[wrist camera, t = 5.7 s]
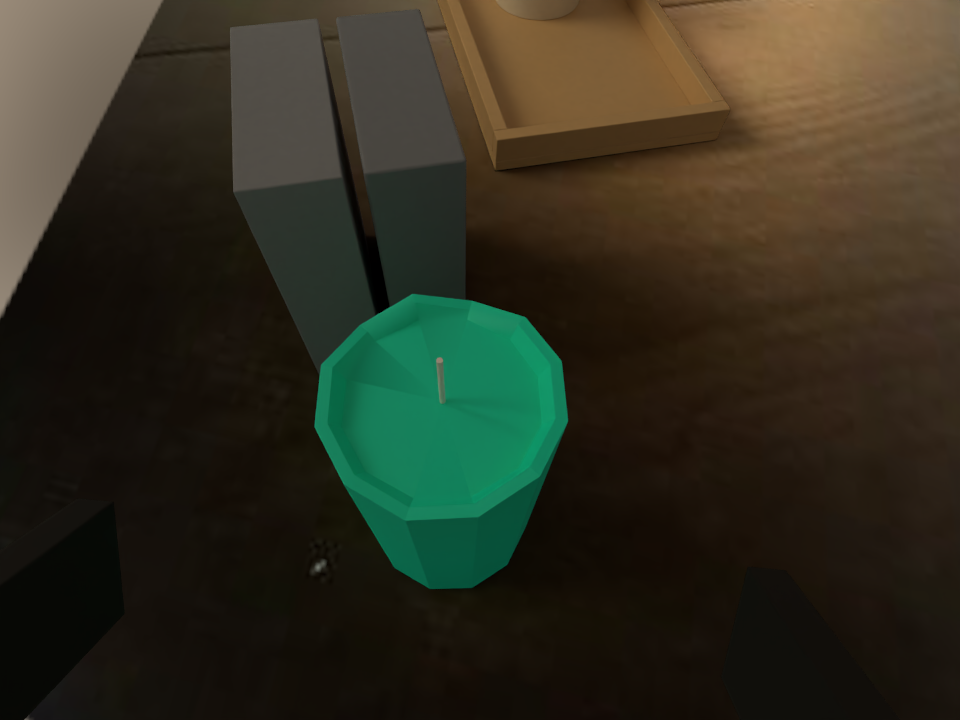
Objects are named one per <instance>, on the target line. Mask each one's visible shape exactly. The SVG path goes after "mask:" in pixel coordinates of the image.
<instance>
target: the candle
mask: <svg viewBox="0 0 960 720" xmlns="http://www.w3.org/2000/svg"><path fill="white" fill-rule="evenodd" d="M567 423H568V415H567V406H566V396H565V387H564V378H563V368H562V361H561V360H560V358H559V357H558V356H557V355H556V354H555V352H554V351H553V350H552V349H551V347H550V346H549V345H548V344H547V343H546V341H545V340H544V339H543V338H542V336H541V335H540V334H539V333H538V332H537V330H536V329H535V328H534V327H533V326H532V324H531V323H530V322H529V321H528V319H527V318H526V317H523V316H520V315H517V314H514V313H510V312H507V311H504V310H501V309H497V308H494V307H491V306H488V305H484V304H481V303H478V302H475V301H470V300H462V299H453V298H445V297H436V296H427V295H419V294H411V295H410V296H408V297H406V298H405V299H403V300H401V301H400V302H398V303H396V304H394V305H393V306H391V307H389V308H388V309H386V310H384V311H383V312H381V313H379V314H377V315H376V316H374V317H372V318H371V319H369V320H367V321H366V322H364V323H362V324H361V325H359V326H358V327H357V328H356V329H355V330H354V331H353V332H352V334H351V335H350V336H349V337H348V338H347V339H346V340H345V341H344V342H343V343H342V344H341V345H340V346H339V347H338V348H337V349H336V350H335V351H334V352H333V353H332V354H331V355H330V356H329V357H328V358H327V359H326V360H325V361H324V362H323V363H322V364H321V369H320V378H319V388H318V397H317V407H316V416H315V426H314V427H315V429H316V431H317V433H318V435H319V437H320V439H321V441H322V443H323V445H324V447H325V449H326V451H327V453H328V455H329V456H330V458H331V460H332V462H333V464H334V466H335V468H336V470H337V472H338V474H339V476H340V478H341V480H342V482H343V484H344V486H345V487H346V489H347V491H348V492H349V494H350V496H351V497H352V499H353V500H354V502H355V504H356V505H357V507H358V509H359V510H360V512H361V514H362V515H363V517H364V519H365V520H366V522H367V523H368V525H369V527H370V528H371V530H372V532H373V533H374V535H375V537H376V538H377V540H378V542H379V543H380V545H381V546H382V548H383V550H384V551H385V553H386V555H387V556H388V558H389V560H390V561H391V563H392V565H393V566H394V568H395V569H397V570H399V571H401V572H402V573H404V574H406V575H407V576H409V577H411V578H412V579H414V580H416V581H417V582H419V583H421V584H422V585H424V586H426V587H427V588H429V589H451V588H473V587H474V586H476V585H477V584H479V583H480V582H482V581H483V580H485V579H487V578H488V577H490V576H491V575H493V574H494V573H496V572H497V571H499V570H500V569H502V568H503V567H505V566H506V565H507V564H508V562H509V560H510V558H511V556H512V554H513V552H514V550H515V548H516V546H517V544H518V542H519V540H520V538H521V536H522V534H523V532H524V530H525V528H526V525H527V523H528V520H529V518H530V515H531V513H532V510H533V508H534V505H535V503H536V500H537V498H538V495H539V493H540V490H541V488H542V485H543V483H544V480H545V478H546V475H547V473H548V470H549V468H550V465H551V463H552V460H553V458H554V455H555V453H556V450H557V448H558V445H559V443H560V440H561V438H562V435H563V433H564V430H565V428H566V425H567Z"/></svg>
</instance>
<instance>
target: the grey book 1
mask: <svg viewBox="0 0 960 720" xmlns="http://www.w3.org/2000/svg"><path fill="white" fill-rule="evenodd" d="M230 47H231V98H232V149H233V192H234V195H235V197H236V199H237V201H238V203H239V205H240V207H241V209H242V212H243V214H244V216H245V218H246V220H247V222H248V224H249V226H250V229H251V231H252V233H253V235H254V237H255V239H256V241H257V244H258V246H259V248H260V250H261V252H262V254H263V256H264V258H265V261H266V263H267V265H268V267H269V269H270V271H271V273H272V275H273V278H274V280H275V282H276V284H277V286H278V288H279V290H280V292H281V295H282V297H283V299H284V301H285V303H286V305H287V307H288V309H289V312H290V314H291V316H292V318H293V320H294V322H295V324H296V326H297V329H298V331H299V333H300V335H301V337H302V339H303V341H304V343H305V346H306V348H307V350H308V352H309V354H310V356H311V358H312V360H313V363H314V365H315V367H316V369H317V371H318V373H319V375H320V369H321V364H322V363H323V362H324V361H325V360H326V359H327V358H328V357H329V356H330V355H331V354H332V353H333V352H334V351H335V350H336V349H337V348H338V347H339V346H340V345H341V344H342V343H343V342H344V341H345V340H346V339H347V338H348V337H349V336H350V335H351V334H352V332H353V331H354V330H355V329H356V328H357V327H358V326H359V325H361V324H362V323H364V322H366V321H367V320H369V319H371V318H372V317H374V316H376V315H377V314H379V312H378V306H377V300H376V294H375V288H374V282H373V276H372V270H371V264H370V259H369V253H368V247H367V241H366V235H365V230H364V226H363V221H362V216H361V212H360V207H359V203H358V198H357V194H356V189H355V184H354V180H353V175H352V171H351V166H350V162H349V157H348V152H347V148H346V143H345V139H344V134H343V130H342V125H341V120H340V116H339V111H338V107H337V102H336V98H335V93H334V89H333V84H332V79H331V75H330V70H329V66H328V61H327V57H326V52H325V47H324V43H323V38H322V34H321V29H320V25H319V20H318V19H310V20H300V21H290V22H280V23H270V24H260V25H250V26H240V27H231V28H230Z"/></svg>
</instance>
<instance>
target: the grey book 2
mask: <svg viewBox="0 0 960 720" xmlns="http://www.w3.org/2000/svg"><path fill="white" fill-rule="evenodd" d="M336 22H337V28H338V33H339V39H340V45H341V50H342V56H343V61H344V67H345V72H346V78H347V84H348V89H349V95H350V100H351V106H352V112H353V117H354V123H355V128H356V134H357V140H358V145H359V151H360V156H361V162H362V168H363V173H364V178H365V183H366V189H367V194H368V199H369V204H370V209H371V214H372V219H373V224H374V229H375V234H376V239H377V245H378V250H379V255H380V260H381V265H382V270H383V275H384V280H385V285H386V290H387V295H388V301H389V306H390V307H391V306H393V305H394V304H396V303H398V302H400V301H401V300H403V299H405V298H406V297H408V296H410V295H411V294H419V295H427V296H436V297H445V298H453V299H462V300H465V296H466V158H465V154H464V151H463V148H462V145H461V142H460V138H459V135H458V132H457V129H456V125H455V122H454V119H453V116H452V112H451V109H450V106H449V103H448V99H447V96H446V93H445V90H444V87H443V83H442V80H441V77H440V74H439V70H438V67H437V64H436V61H435V57H434V54H433V51H432V48H431V44H430V41H429V38H428V35H427V31H426V28H425V25H424V22H423V19H422V15H421V12H420V10H418V9H415V10H405V11H395V12H385V13H375V14H365V15H355V16H345V17H338V18H337V19H336Z"/></svg>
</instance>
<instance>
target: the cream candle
mask: <svg viewBox="0 0 960 720" xmlns="http://www.w3.org/2000/svg"><path fill="white" fill-rule="evenodd" d="M496 2H497V4H498V5H499V6H500V7H501V8H502V9H504V10H505V11H506V12H508V13H510V14H512V15H515V16H518V17H521V18H525V19H531V20H550V19H556V18H560V17H563V16H565V15H567V14H569V13H571V12H572V11H573V10H574V9H575V8H576V7H577V5H578V3H579V0H496Z"/></svg>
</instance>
